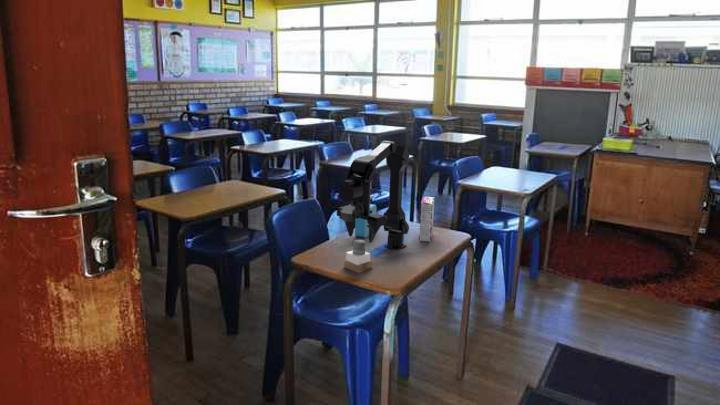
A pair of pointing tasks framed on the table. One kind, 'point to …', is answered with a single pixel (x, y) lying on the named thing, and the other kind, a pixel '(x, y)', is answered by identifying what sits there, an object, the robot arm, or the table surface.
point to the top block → (357, 258)
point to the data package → (363, 224)
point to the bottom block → (358, 266)
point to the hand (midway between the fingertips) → (360, 239)
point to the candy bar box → (426, 219)
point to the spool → (359, 247)
